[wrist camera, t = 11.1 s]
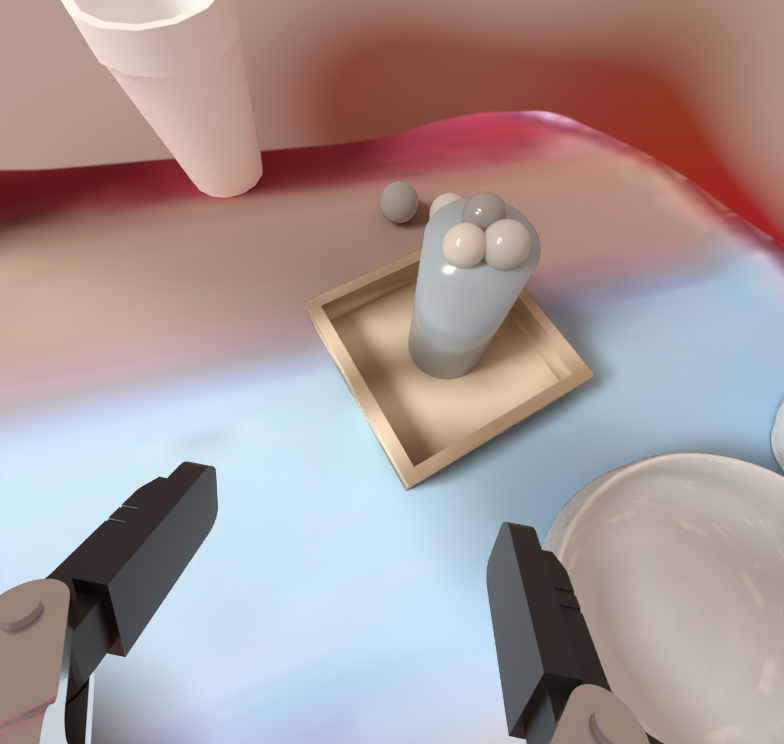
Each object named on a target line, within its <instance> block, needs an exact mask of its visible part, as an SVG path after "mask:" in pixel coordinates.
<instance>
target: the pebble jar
mask: <svg viewBox="0 0 784 744" xmlns="http://www.w3.org/2000/svg"><path fill="white" fill-rule="evenodd" d="M539 258H540V242H539V238H538V235H537V233H536V231H535V229H534V227H533V226H532V224H531V223H530V222H529V221H528V219H527V218H526V217H525V216H524V215H522V214H521V213H520V212H519V211H517V210H516V209H514V208H513V207H511V206H509V205H507V204H505V203H504V202H503V201H502V199H501V198H500V197H499V196H497V195H496V194H493V193H490V192H482V193H479V194H476V195H474V196H473V197H472V198H464V199H459V200H456V201H453V202H450V203H448V204H446V205H445V206H443V207H441V208H440V209H439V210H438V211H436V212H435V213H434V214H433V216H432V217H431V218H430V220H429V221H428V223H427V225H426V228H425V232H424V238H423V244H422V251H421V258H420V264H419V271H418V278H417V284H416V291H415V298H414V304H413V311H412V318H411V324H410V331H409V338H408V349H409V353H410V356H411V358H412V360H413V362H414V363H415V364H416V366H417V367H418V368H419V369H420V370H421V371H423V372H424V373H426V374H428V375H430V376H432V377H435V378H439V379H455V378H459V377H462V376H464V375H466V374H467V373H469V372H470V371H471V370H472V369H473V368H474V367H475V366H476V364H477V363H478V361H479V360H480V358H481V356H482V355H483V353H484V352H485V350H486V348H487V347H488V345H489V343H490V342H491V340H492V339H493V337H494V335H495V334H496V332H497V330H498V329H499V327H500V326H501V324H502V322H503V321H504V319H505V317H506V316H507V314H508V313H509V311H510V309H511V308H512V306H513V304H514V303H515V301H516V299H517V298H518V296H519V295H520V293H521V291H522V290H523V288H524V286H525V285H526V283H527V282H528V280H529V278H530V277H531V275H532V273H533V272H534V270H535V268H536V266H537V264H538V261H539Z"/></svg>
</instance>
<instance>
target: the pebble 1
mask: <svg viewBox="0 0 784 744" xmlns="http://www.w3.org/2000/svg"><path fill="white" fill-rule="evenodd" d="M380 208H381V211H382V213H383V215H384V216H385V217H386V218H387V219H388V220H389V221H391V222H394V223H404V222H407V221H408V220H410V219H411V218H412V217H413V216H414V215H415V213H416V211H417V208H418V196H417V193H416V191H415V190H414V188H413V187H412V186H411V185H410V184H408V183H406V182H402V181H396V182H393V183H391V184H389V185H388V186H386V187H385V189H384V190H383V192H382V194H381V197H380Z"/></svg>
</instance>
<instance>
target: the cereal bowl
mask: <svg viewBox="0 0 784 744" xmlns="http://www.w3.org/2000/svg"><path fill="white" fill-rule="evenodd" d="M541 549H542V550H546V551H551V552H553V553H554V555H555V556H556V557H557V559H558V560H559V561H560V563H561V564H562V565H563V566H564V568H565V569H566V570H567V573H568V576H569V578H570V581H571V584H572V586H573V589H574V595H575V596H576V597H577V600H578V603H579V605H580V608H581V613H583V616H584V619H585V622H586V624H587V627H588V630H589V632H590V635H591V638H592V640H593V643H594V646H595V649H596V651H597V654H598V657H599V659H600V662H601V665H602V668H603V670H604V673H605V676H606V678H607V681H608V684H609V686H610V688H611V690H612V692H613V694H614V695H615V696H617V697H618V698H619V699H620V700H622V701H623V702H624V703H625V704H626V705H627V706H628V707H629V709H630V710H631V711H632V712H633V713H634V715H635V716H636V717H637V719H638V720H639V722H640V724H641V725H642V727H643V729H644V731H645V732H647V733H648V734H649V735H651V736H652V737H654V738H655V739H657V740H659V741H660V742H662V743H664V744H784V476H782V475H780V474H777V473H775V472H773V471H771V470H768V469H766V468H764V467H761V466H758V465H756V464H753V463H749V462H746V461H743V460H739V459H735V458H730V457H726V456H721V455H715V454H706V453H671V454H666V455H657V456H653V457H650V458H644V459H642V460H639V461H636V462H632V463H630V464H627V465H624V466H621V467H619V468H617V469H615V470H612V471H609V472H607V473H606V474H604V475H602V476H600V477H598V478H596V479H594V480H593V481H592V482H590V483H589V484H587V485H585V486H584V488H582V489H581V490H580V491H578V492H577V493H576V494H575V495H574V496H573V497H572V499H571V500H570V501H569V502H568V503H566V504H565V506H564V508H563V509H562V510H561V511H560V513H559V514H558V516H557V517H556V518H555V519H554V522H553V524H552V526H551V527H550V529H549V531H548V533H547V534H546V538H545V541H544V542H543V544H542V548H541Z"/></svg>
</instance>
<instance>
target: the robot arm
mask: <svg viewBox="0 0 784 744" xmlns="http://www.w3.org/2000/svg"><path fill="white" fill-rule="evenodd" d="M217 511H218V501H217V482H216V470H215V468H214V467H213V466H208V465H203V464H198V463H192V462H183V463H182V464H181V465H179V466H178V467H177V469H176V470H175V471H174V472H173V473H172V474H171V475H170V476H169V477H168V478H163V477H158V478H157V479H155V480H153V481H151V482H149V483H148V484H146V485H144V486H142V487H140V488H139V489H138V490H137V491H135V492H134V493H133V494H132V495H131V496H130V497H129V498H128V499H127V500H126V501H125V502H124V503H123V504H122V507H121V508H120V507H119V508H118V509H117V510H116V511H115V512H114V513H113V514H112V515H111V516H110V517H109V519H108V521H105V522H104V523H103V524H102V525H101V526H99V527H98V528H97V529H96V530H95V531H94V532H93V533H92V534H91V535H90V536H89V537H88V538H87V539H86V540H85V541H84V542H83V543H82V544H81V545H80V546H79V547H78V548H77V549H76V550H75V551H74V552H73V553H72V554H71V555H70V556H69V557H68V558H67V559H66V560H65V561H63V562H62V563H61V564H60V565H59V566H58V567H57V568H56V569H55V570H54V571H53V572H52V573H51V574H50V575H49V576H48V577H46V578H45V579H39V580H34V581H30V582H27V583H24V584H21V585H18V586H16V587H14V588H12V589H10V590H8V591H6V592H4V593H3V594H1V595H0V744H91V732H92V715H93V698H94V681H95V673H94V670H95V669H96V667H97V666H98V665H99V663H100V662H101V660H102V659H103V658H104V656H105V655H106V653H108V654H113V655H118V656H123V657H126V655H127V654H128V652H129V651H130V649H131V648H132V646H133V645H134V643H135V642H136V640H137V639H138V638H139V636H140V635H141V633H142V632H143V630H144V629H145V627H146V626H147V624H148V623H149V621H150V620H151V618H152V617H153V615H154V614H155V612H156V611H157V609H158V608H159V606H160V605H161V603H162V602H163V600H164V599H165V598H166V596H167V595H168V593H169V592H170V590H171V589H172V587H173V586H174V584H175V583H176V581H177V580H178V578H179V577H180V575H181V574H182V572H183V571H184V569H185V568H186V566H187V565H188V563H189V562H190V560H191V559H192V558H193V556H194V555H195V553H196V552H197V550H198V549H199V547H200V546H201V544H202V543H203V541H204V540H205V538H206V537H207V535H208V534H209V532H210V531H211V529H212V527H213V525H214V522H215V520H216V516H217ZM487 589H488V596H489V603H490V610H491V617H492V624H493V630H494V637H495V644H496V651H497V658H498V665H499V671H500V678H501V685H502V692H503V699H504V706H505V712H506V719H507V726H508V733H509V736H512V737H517V738H522V739H526V742H527V744H664V743H662V742H660V741H659V740H657V739H655V738H654V737H652V736H651V735H649V734H648V733H647V732H645V731H644V729H643V727H642V725H641V724H640V722H639V720H638V719H637V717H636V716H635V715H634V713H633V712H632V711H631V710H630V709H629V707H628V706H627V705H626V704H625V703H624V702H623V701H622V700H620V699H619V698H618V697H617V696H615V695H614V694H613V692H612V690H611V688H610V686H609V684H608V681H607V678H606V676H605V673H604V670H603V668H602V665H601V662H600V659H599V657H598V654H597V651H596V649H595V646H594V643H593V640H592V638H591V635H590V632H589V630H588V627H587V624H586V622H585V619H584V616H583V613H581V608H580V605H579V603H578V600H577V597H576V596H575V595H574V589H573V586H572V584H571V581H570V578H569V576H568V573H567V570H566V569H565V568H564V566H563V565H562V564H561V563H560V561H559V560H558V559H557V557H556V556H555V555H554V553H553V552H551V551H546V550H542V549H541V546H540V543H539V540H538V537H537V534H536V531H535V529H534V528H533V527H530V526H525V525H519V524H514V523H509V522H504V523H503V524H502V526H501V528H500V531H499V533H498V536H497V539H496V541H495V544H494V547H493V550H492V552H491V555H490V558H489V561H488V565H487Z"/></svg>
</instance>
